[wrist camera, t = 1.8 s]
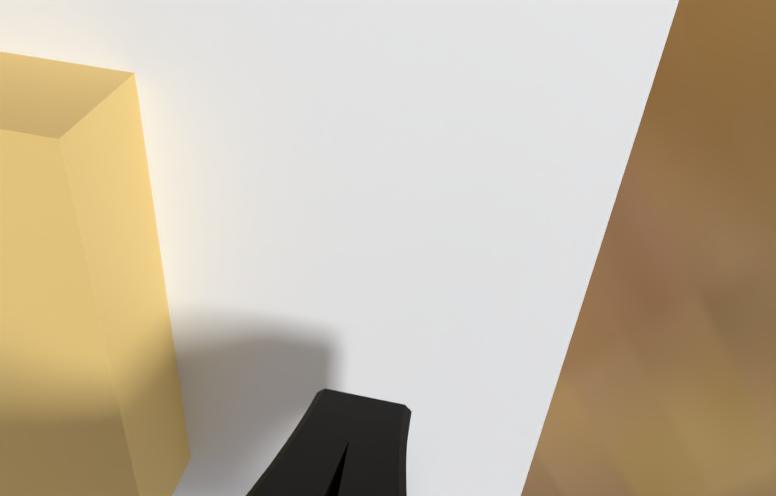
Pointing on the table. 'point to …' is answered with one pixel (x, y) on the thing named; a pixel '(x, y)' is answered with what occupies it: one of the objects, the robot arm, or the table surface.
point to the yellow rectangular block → (82, 291)
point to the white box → (371, 206)
